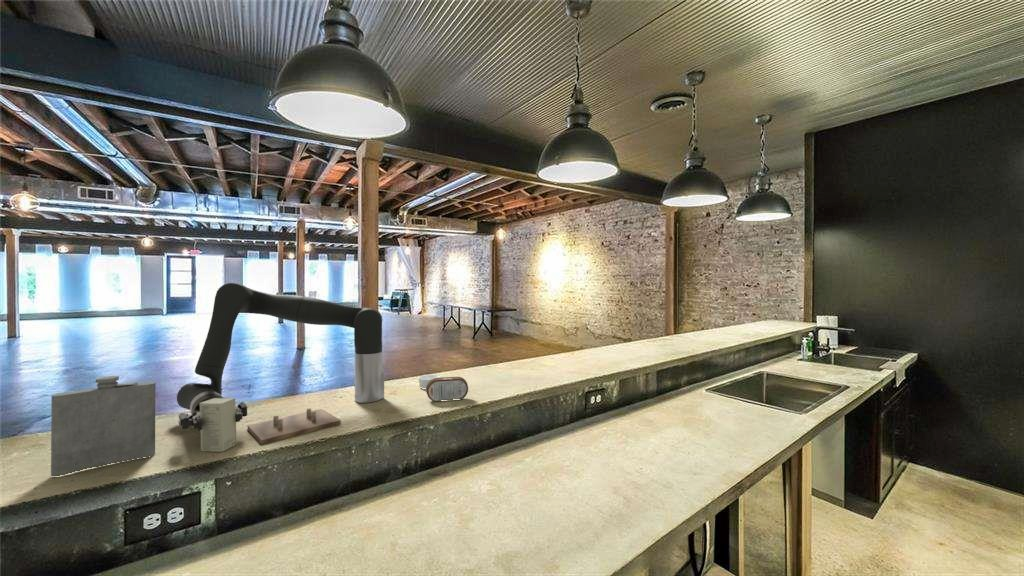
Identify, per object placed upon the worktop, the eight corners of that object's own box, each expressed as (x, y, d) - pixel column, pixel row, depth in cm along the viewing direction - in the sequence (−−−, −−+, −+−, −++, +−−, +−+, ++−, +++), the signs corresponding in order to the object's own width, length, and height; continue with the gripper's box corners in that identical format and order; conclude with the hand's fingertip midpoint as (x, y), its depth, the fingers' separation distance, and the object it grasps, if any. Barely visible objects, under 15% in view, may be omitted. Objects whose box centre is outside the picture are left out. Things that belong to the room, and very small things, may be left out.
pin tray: (321, 412, 119) (321, 401, 119) (340, 424, 109) (340, 411, 109) (247, 429, 105) (247, 416, 105) (261, 444, 95) (261, 430, 95)
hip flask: (49, 480, 77) (50, 384, 77) (53, 472, 80) (54, 381, 80) (155, 456, 88) (155, 373, 88) (155, 450, 91) (155, 370, 91)
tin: (467, 397, 136) (467, 375, 136) (468, 400, 133) (468, 377, 133) (426, 401, 132) (426, 377, 132) (426, 403, 129) (426, 379, 129)
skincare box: (237, 445, 94) (237, 397, 94) (221, 452, 90) (222, 403, 90) (214, 443, 95) (215, 397, 95) (198, 451, 91) (198, 402, 91)
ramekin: (443, 388, 149) (443, 377, 149) (422, 391, 144) (422, 380, 144) (436, 383, 157) (436, 373, 157) (415, 386, 152) (415, 376, 152)
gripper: (174, 399, 97) (181, 413, 86) (240, 388, 107) (254, 400, 96) (173, 427, 97) (181, 445, 86) (240, 414, 107) (254, 428, 96)
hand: (220, 421), depth 91 cm, fingers closed on skincare box, 7 cm apart
